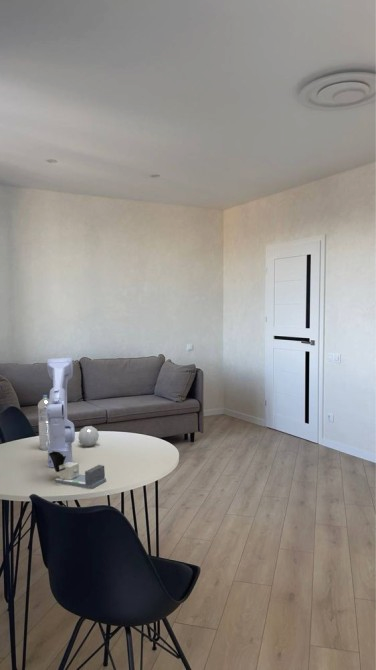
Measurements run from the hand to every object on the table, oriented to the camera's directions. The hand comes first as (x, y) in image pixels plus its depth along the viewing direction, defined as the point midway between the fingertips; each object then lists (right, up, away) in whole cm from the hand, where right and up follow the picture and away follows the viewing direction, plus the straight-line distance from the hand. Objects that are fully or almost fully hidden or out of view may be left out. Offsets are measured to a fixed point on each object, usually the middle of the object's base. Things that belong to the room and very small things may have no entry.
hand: (58, 471), depth 180 cm
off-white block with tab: (+4, -2, -3) cm, 6 cm away
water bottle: (-17, -2, +44) cm, 47 cm away
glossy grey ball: (+1, -1, +48) cm, 48 cm away
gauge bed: (+9, -3, -4) cm, 10 cm away
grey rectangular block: (+15, -1, -7) cm, 17 cm away
